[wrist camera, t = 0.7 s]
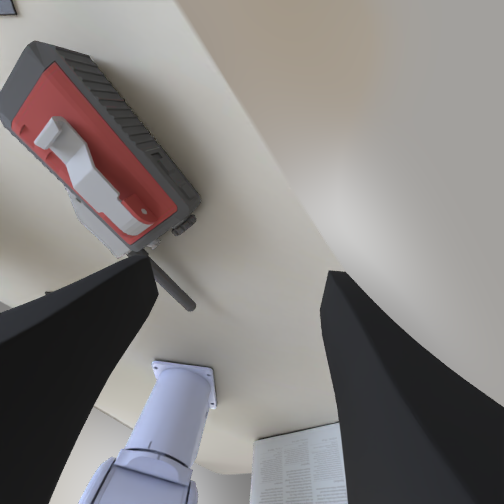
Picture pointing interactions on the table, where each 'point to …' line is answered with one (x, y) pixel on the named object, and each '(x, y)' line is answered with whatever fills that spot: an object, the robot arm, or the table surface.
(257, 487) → the skincare box
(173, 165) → the walkie-talkie
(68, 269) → the table surface
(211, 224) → the table surface
